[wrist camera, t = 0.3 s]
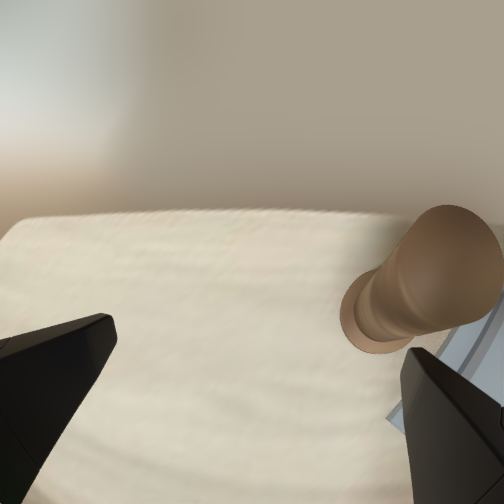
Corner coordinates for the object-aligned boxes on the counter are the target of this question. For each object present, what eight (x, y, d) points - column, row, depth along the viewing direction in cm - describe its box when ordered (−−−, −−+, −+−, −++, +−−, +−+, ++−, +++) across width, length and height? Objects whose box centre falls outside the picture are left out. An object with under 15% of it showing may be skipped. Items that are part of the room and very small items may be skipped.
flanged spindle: (428, 324, 20) (537, 284, 8) (365, 369, 20) (440, 384, 8) (388, 260, 22) (459, 164, 10) (324, 300, 22) (349, 233, 10)
